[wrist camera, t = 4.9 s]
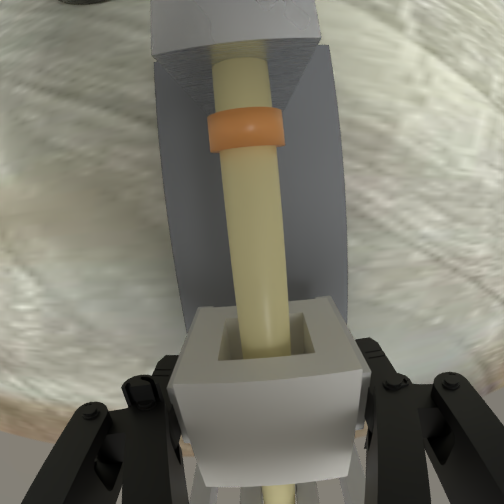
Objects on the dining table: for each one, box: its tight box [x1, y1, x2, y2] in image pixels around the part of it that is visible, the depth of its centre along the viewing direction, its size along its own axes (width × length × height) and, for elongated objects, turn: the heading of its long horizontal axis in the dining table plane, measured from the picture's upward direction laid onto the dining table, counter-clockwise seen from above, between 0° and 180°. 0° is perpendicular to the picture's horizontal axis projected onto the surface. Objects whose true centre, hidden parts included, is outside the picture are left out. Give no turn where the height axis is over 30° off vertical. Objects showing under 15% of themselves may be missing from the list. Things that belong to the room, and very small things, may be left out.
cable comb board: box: [151, 0, 366, 504], centre depth 14 cm, size 24×10×12 cm, turn 5°
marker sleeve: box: [173, 297, 363, 487], centre depth 11 cm, size 5×5×5 cm
